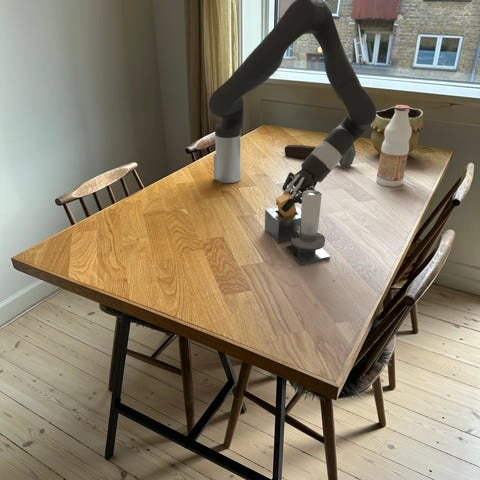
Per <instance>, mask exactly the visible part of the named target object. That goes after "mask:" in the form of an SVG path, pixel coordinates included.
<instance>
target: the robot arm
mask: <svg viewBox="0 0 480 480" xmlns="http://www.w3.org/2000/svg"><path fill="white" fill-rule="evenodd" d="M307 34H308V35H309V34H311V35H313V37H314V39H315V40H316V41H317V43H318V44H319V47H320V49H321V52H322V54H323V55H322V56H323V62H324V70H325V71H324V72H325V74H326V76H327V80H328V82H329V84H330V86H331V88H332V90H333V92H334V93H335V96H336V97H337V98H338V100H340V101H342V103H343V105H344V107H345V108H346V110H347V115H346V116H345V117H344V118H343V120H342V121H341V122H340V124H338V126H336V127H334V128H333V129H332V130H331V131H330V132H329V133H328V134H327V136H326V137H325V138H324V139H323V140H322V142H320V143H319V144H318V145H317V146H315V147H316V148H315V149H314V151H313V152H312V153H311V154H310V155H309V156H308V157H307V158H305V160H303V162H302V163H301V164H300V166H301V167H300V168H301V169H300V170H298V171H297V172H296V173H293V172H292V171H290V172H289V173H288V174H287V176H286V179H285V181H284V183H283V185H282V187H281V189H282V191H283V194H286V193H289V194H290V195H291V196H290V199H289V200H288V201H287V202H286V203H285V204H284V205H283V206H282V207H281V209H282V210H283V211H284V212H287V211H288V210H289V209H290V208H291V207H292V206H293V205H294V204H295V205H296V204H299V205H302V194H303V192H304V191H307V190H315V191H317V190H316V189H315V187H316V185H317V184H318V183H322V182H323V181H324V180H325V179H326V177H327V176H328V175H329V174H330V173H331V172H332V170H334V169H335V167H337V165H338V164H339V161H340V159H341V158H342V157H343V156H344V155H345V153H346V152H347V151H348V150H349V149H350V148H351V146H352V145H353V143H355V142H356V141H357V140H358V139H359V138H360V137H361V136H363V134H364V133H365V132H366V131H367V130H368V129H369V128H371V124H372V123H373V121H374V120H375V118H376V114H377V107H376V105H375V102H374V100H373V99H372V97H370V94H369V93H368V92H367V90H366V89H365V88H364V86H362V84H361V82H360V79H359V77H358V75H357V74H356V73H357V72H356V71H355V70H354V68H353V66H352V64H351V62H350V59H349V58H348V55H347V54H346V51H345V49H344V46H343V43H342V41H341V38H340V34H339V32H338V28H337V26H336V22H335V20H334V16H333V13H332V10H331V9H330V5H329V3H328V2H327V1H326V0H293V2H292V3H290V5H289V6H288V8H287V9H286V10H285V12H284V13H283V15H282V16H281V18H279V20H278V21H277V23H276V24H275V26H274V27H273V28H272V29H271V30H270V31H269V33H268V34H267V35H266V36H265V37H264V38H263V39H262V41H261V42H260V43H259V44H258V45H257V46H256V47H255V48H254V49H253V51H251V53H249V55H248V56H247V57H246V58H245V60H244V61H242V63H241V64H240V66H239V67H238V68H237V69H236V70H235V71H234V72H233V73H232V75H230V77H229V78H228V79H227V80H226V81H225V82H224V83H223V84H221V85H220V86H219V87H217V89H215V90H214V91H213V92H212V93H211V95H210V97H209V101H208V106H209V107H208V108H209V111H210V113H211V114H212V115H213V116H215V117H217V118H221V120H220V122H218V124H216V126H215V127H214V136H215V138H214V140H215V154H214V155H213V179H214V180H216V181H217V182H219V183H222V184H223V183H224V184H233V183H234V184H235V183H238V182H240V180H241V178H242V177H241V174H242V172H241V169H242V168H241V165H242V164H241V156H242V155H241V139H242V138H241V131H242V128H243V124H244V107H245V106H244V103H245V102H244V98H243V96H246V95H247V94H248V93H249V92H252V91H253V90H255V89H256V88H258V87H260V86H261V85H263V84H264V83H265V82H266V81H268V80H269V79H270V78H271V77H272V76H273V75H274V74H275V73H276V72H277V70H278V69H279V68H280V66H281V64H282V62H283V60H284V56H285V53H286V51H288V49H289V47H290V46H292V45H293V43H295V42H296V41H297V40H298V39H300V37H302V36H304V35H307ZM275 204H276V206H277V207H278V204H277V202H276V201H275Z"/></svg>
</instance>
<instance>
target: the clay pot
mask: <svg viewBox="0 0 480 480" xmlns="http://www.w3.org/2000/svg"><path fill="white" fill-rule="evenodd" d="M376 111H377V110H376ZM394 114H395V106H392V107H389V108H386V109H382V110H378V111H377V114H376V118H375V120H374V121H373V123H372V124H371V125H370V129H372V133H371V135H370V136H371V137H370V139H371V144H372V146H373V148H374V149H375V151H376V152H377V153H378V154H381V148H382V144H383V141H384V140H385V134H384V132H385V128H386V126H387V125H388V124H389V123H390V121H391V119H392V117H393V116H394ZM408 117H409V123H410V127H411V129H412V134H411V137H410V139H409V152H408V155H410V153H412V152H413V151H414V150H415V149H416V147H417V145H418V143H419V139H420V135H419V134H420V132H421V130H424V111H422V109H419V108H412V107H410V110H409V112H408Z"/></svg>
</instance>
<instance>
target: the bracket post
mask: <svg viewBox="0 0 480 480" xmlns="http://www.w3.org/2000/svg"><path fill="white" fill-rule="evenodd" d="M315 190H316V189H315ZM315 190H307V191H304V192H303V194H302V198H301V199H302V204H301V207H299V206H297V205H296V204H295V207H296V212H295V215H294V216H289V217H284V218H283V217H282V214H280V213H279V209H278V206H277V207H271V208H266V209H264V210H265V211H264V231H265V232H266V233H267V235H269V237H270V238H271V239H272V240H273V241H274V242H275V243H276V244H277V245H280V244H283V243H288V242H290V243H291V245H287V246H284V251H285V252H286V253H287V254H288V255H289V256H290V257H291V258H292V259H293V260H294V261H295V262H296V263H297V264H298V265H299V266H300V267H303V266H307V265H311V264H315V263H316V264H317V263H319V262H320V263H321V262H323V261H324V262H325V261H328V260H330V259H331V256H330V254H329V253H327V252H326V251H325V250H324V249H323V248H324V246H325V245H326V244H325V243H326V237H325V236H324V235H323V234H322V233H320V232H319V224H320V215H321V205H322V204H321V203H322V192H320V191H317V190H316V191H315Z"/></svg>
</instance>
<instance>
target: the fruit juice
mask: <svg viewBox="0 0 480 480" xmlns="http://www.w3.org/2000/svg"><path fill="white" fill-rule="evenodd" d="M394 107H395V114H394V116H393V117H392V119H391V121H390V123H389V124H388V125H387V126H386V128H385V132H384V134H385V140H384V141H383V144H382V148H381V154H380V153H379V154H380V155H379V161H378V168H377V171H376V172H377V173H376V183H377V184H380V185H381V186H384V187H389V188H390V187H392V188H393V187H394V188H395V187H399V186H401V185H402V184H403V182H404V181H403V180H404V176H405V171H406V166H407V161H408V160H407V159H408V156H409V154H408V152H409V139H410V137H411V134H412V129H411V127H410V123H409V117H408V112H409V110H410V108H411V107H410V106H409V105H405V104H396V105H395V106H394Z"/></svg>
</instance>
